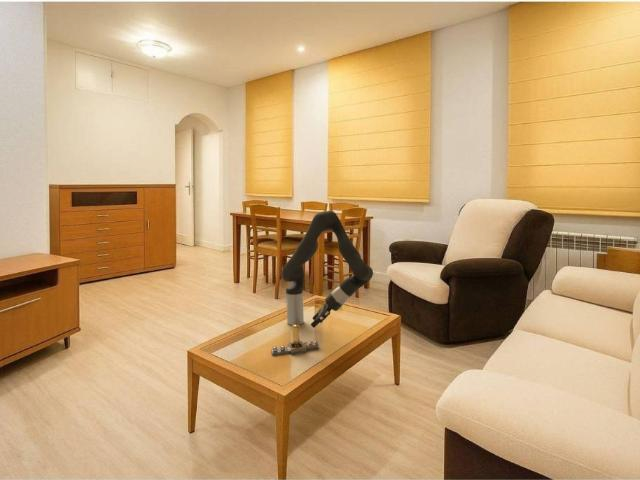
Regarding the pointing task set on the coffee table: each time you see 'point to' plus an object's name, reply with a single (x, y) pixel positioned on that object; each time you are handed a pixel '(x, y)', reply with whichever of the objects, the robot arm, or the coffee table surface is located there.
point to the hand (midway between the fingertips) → (313, 322)
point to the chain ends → (289, 349)
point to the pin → (296, 335)
